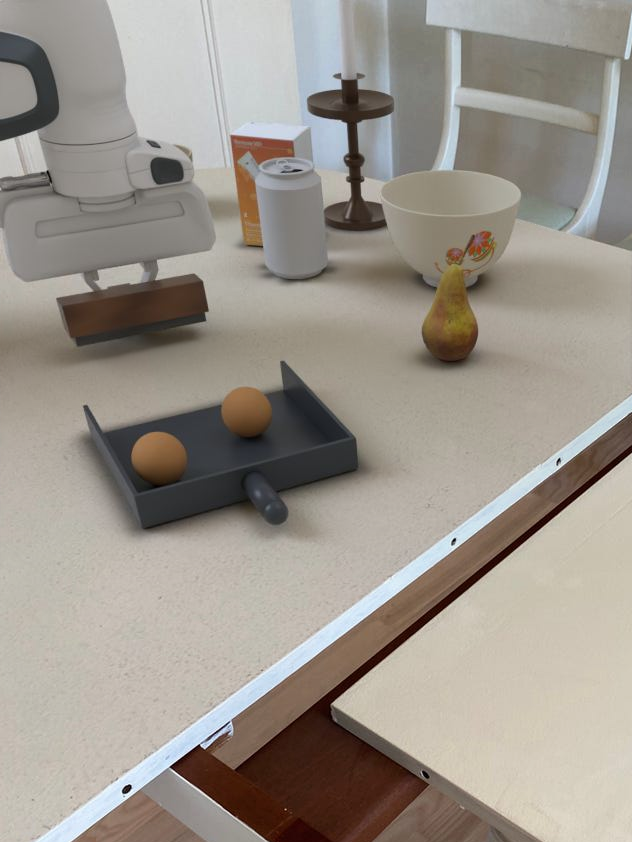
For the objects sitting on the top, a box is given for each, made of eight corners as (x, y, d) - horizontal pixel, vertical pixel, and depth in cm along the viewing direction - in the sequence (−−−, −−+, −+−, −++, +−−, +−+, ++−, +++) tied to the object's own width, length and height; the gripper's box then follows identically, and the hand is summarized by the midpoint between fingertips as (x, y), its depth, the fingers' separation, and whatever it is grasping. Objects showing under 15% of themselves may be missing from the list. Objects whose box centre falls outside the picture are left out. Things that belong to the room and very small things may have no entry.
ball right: (226, 447, 88) (231, 431, 84) (213, 401, 88) (217, 383, 84) (274, 439, 89) (280, 422, 85) (261, 394, 90) (267, 375, 86)
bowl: (380, 306, 110) (376, 214, 103) (385, 253, 122) (382, 168, 115) (521, 307, 111) (525, 216, 104) (512, 255, 123) (516, 170, 116)
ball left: (148, 503, 81) (195, 486, 83) (149, 468, 77) (199, 451, 79) (121, 465, 82) (168, 449, 84) (121, 430, 78) (170, 414, 81)
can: (284, 286, 114) (271, 177, 106) (255, 266, 118) (241, 160, 110) (340, 273, 117) (332, 166, 109) (310, 253, 121) (300, 150, 113)
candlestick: (372, 200, 137) (357, -114, 113) (412, 223, 130) (405, -104, 107) (303, 213, 132) (272, -111, 109) (341, 238, 125) (316, -101, 102)
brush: (73, 348, 96) (61, 306, 94) (58, 325, 102) (46, 285, 100) (211, 321, 102) (203, 280, 99) (188, 301, 108) (180, 261, 105)
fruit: (426, 343, 103) (424, 227, 95) (480, 347, 103) (483, 230, 95) (418, 367, 99) (415, 247, 91) (474, 371, 99) (476, 251, 91)
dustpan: (91, 437, 87) (82, 405, 85) (287, 390, 95) (283, 360, 93) (165, 571, 73) (157, 537, 71) (389, 504, 81) (387, 471, 78)
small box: (243, 246, 123) (227, 133, 114) (261, 228, 127) (247, 119, 119) (304, 252, 122) (293, 139, 113) (320, 234, 126) (311, 124, 118)
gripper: (-14, 190, 87) (31, 337, 96) (208, 160, 95) (230, 298, 104) (-26, 170, 91) (18, 313, 100) (188, 143, 99) (211, 278, 108)
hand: (128, 305), depth 102 cm, fingers closed on brush, 2 cm apart
